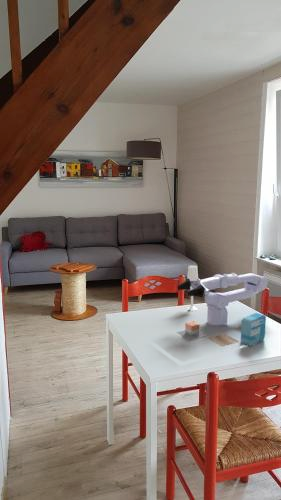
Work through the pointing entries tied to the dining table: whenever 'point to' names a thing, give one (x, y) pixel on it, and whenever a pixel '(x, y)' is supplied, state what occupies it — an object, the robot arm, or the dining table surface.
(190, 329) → the orange-brown cube
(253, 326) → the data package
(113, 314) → the dining table surface
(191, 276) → the champagne flute
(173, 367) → the dining table surface
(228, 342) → the walnut stand
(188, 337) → the slate stand
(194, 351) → the dining table surface
